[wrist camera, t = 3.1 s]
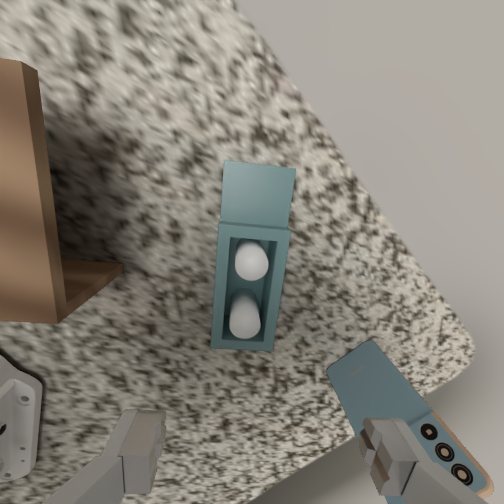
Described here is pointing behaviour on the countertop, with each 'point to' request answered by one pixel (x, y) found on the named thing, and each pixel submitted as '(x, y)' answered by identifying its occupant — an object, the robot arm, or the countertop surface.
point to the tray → (252, 221)
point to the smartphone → (401, 412)
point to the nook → (34, 214)
